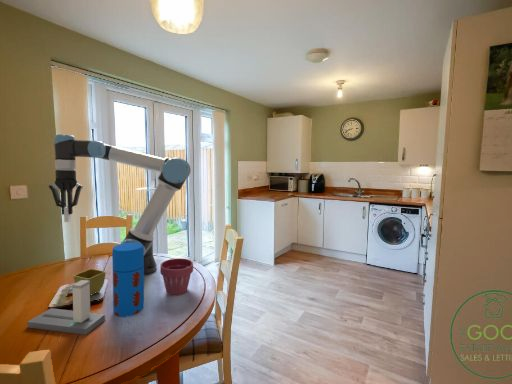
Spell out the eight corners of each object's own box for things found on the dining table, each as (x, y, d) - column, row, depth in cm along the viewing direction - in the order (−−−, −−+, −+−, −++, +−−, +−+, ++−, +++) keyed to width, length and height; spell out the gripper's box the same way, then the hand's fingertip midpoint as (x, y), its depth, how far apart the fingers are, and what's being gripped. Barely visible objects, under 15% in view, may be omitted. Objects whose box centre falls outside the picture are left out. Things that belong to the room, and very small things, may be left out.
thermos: (123, 320, 97) (122, 252, 95) (107, 311, 103) (106, 247, 100) (149, 307, 106) (149, 245, 104) (133, 299, 112) (132, 241, 110)
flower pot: (106, 291, 119) (106, 271, 118) (88, 299, 111) (88, 278, 110) (91, 287, 122) (91, 268, 121) (73, 296, 114) (72, 275, 113)
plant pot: (196, 294, 118) (197, 266, 117) (163, 301, 111) (163, 271, 110) (188, 282, 131) (188, 256, 129) (157, 287, 124) (157, 260, 123)
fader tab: (73, 321, 91) (71, 284, 90) (82, 315, 95) (81, 279, 94) (81, 322, 91) (80, 285, 90) (90, 316, 95) (89, 280, 94)
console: (27, 327, 91) (27, 321, 91) (51, 313, 100) (51, 307, 100) (85, 334, 88) (85, 328, 88) (105, 319, 97) (104, 314, 97)
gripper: (85, 170, 126) (86, 219, 128) (52, 169, 122) (54, 220, 124) (79, 170, 119) (81, 222, 121) (44, 169, 115) (46, 223, 117)
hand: (67, 221), depth 123 cm, fingers closed
